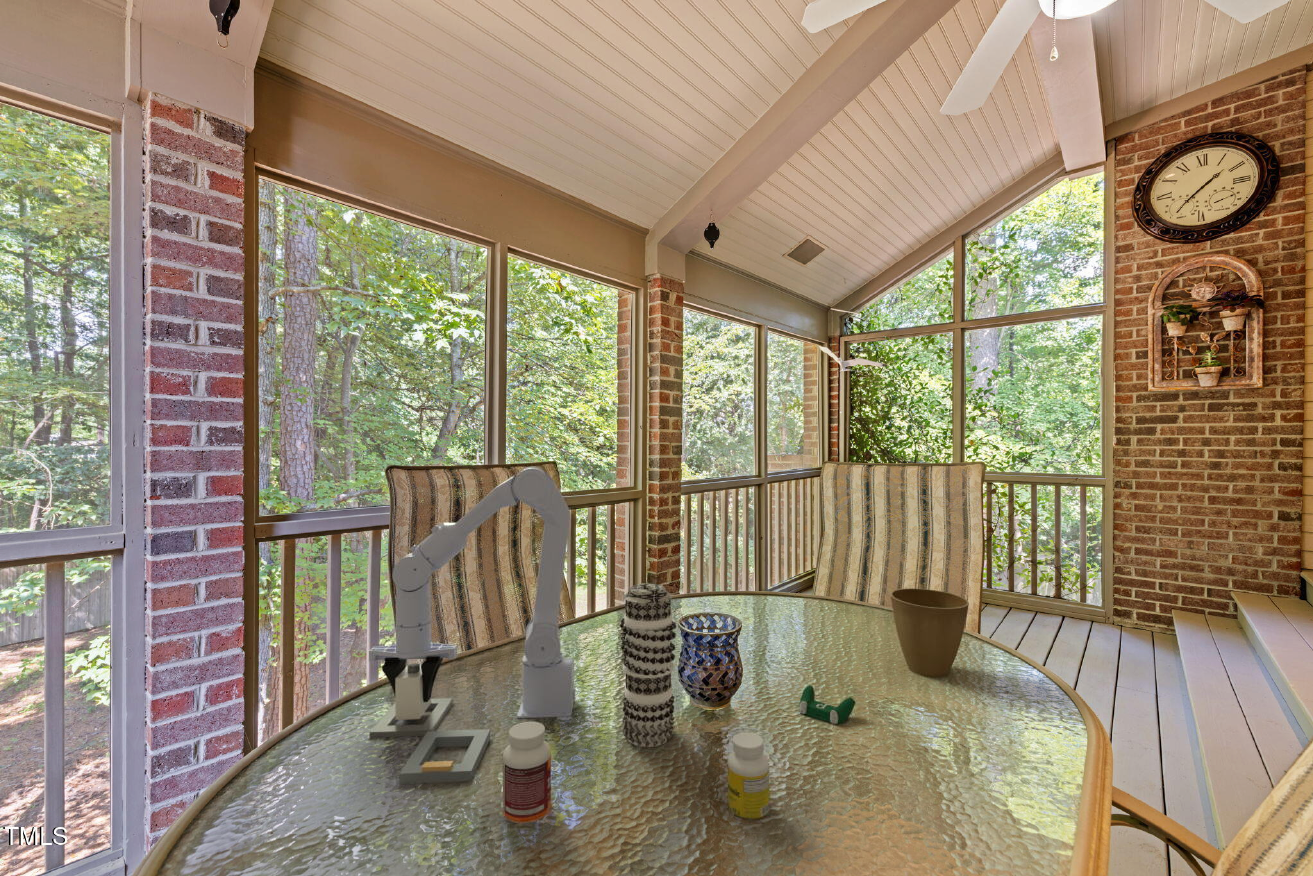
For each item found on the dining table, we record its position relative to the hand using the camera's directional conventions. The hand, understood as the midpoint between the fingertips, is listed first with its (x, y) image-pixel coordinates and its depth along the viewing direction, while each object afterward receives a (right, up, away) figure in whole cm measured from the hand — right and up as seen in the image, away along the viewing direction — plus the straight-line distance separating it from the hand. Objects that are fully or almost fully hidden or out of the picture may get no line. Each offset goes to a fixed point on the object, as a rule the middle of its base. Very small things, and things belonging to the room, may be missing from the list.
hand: (413, 700), depth 102 cm
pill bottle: (+26, -4, -25) cm, 36 cm away
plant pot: (+100, -4, +20) cm, 102 cm away
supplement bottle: (+55, -4, -26) cm, 61 cm away
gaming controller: (+74, -2, +3) cm, 74 cm away
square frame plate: (0, -4, 0) cm, 4 cm away
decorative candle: (+41, -4, -7) cm, 42 cm away
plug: (0, -2, 0) cm, 2 cm away
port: (+11, -4, -13) cm, 18 cm away
